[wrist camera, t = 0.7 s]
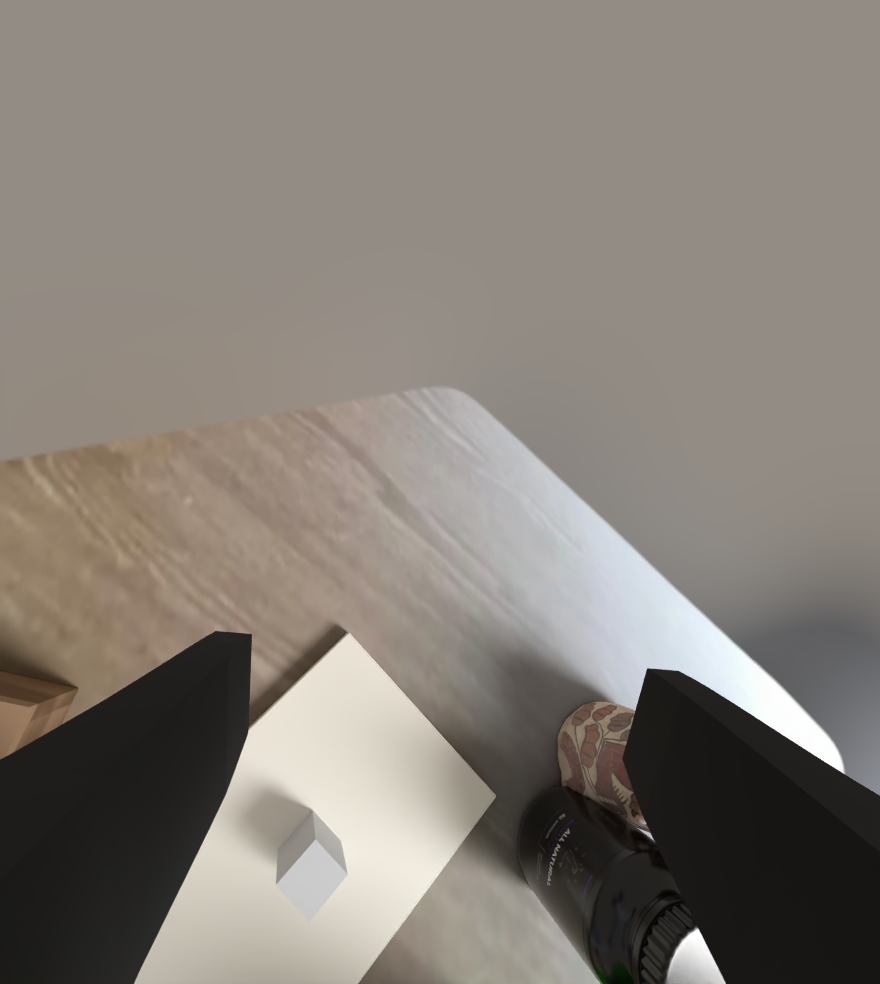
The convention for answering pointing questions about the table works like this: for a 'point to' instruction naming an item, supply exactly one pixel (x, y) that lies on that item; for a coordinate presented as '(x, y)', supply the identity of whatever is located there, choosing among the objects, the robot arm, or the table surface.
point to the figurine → (599, 758)
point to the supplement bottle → (611, 893)
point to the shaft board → (362, 803)
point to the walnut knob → (29, 709)
